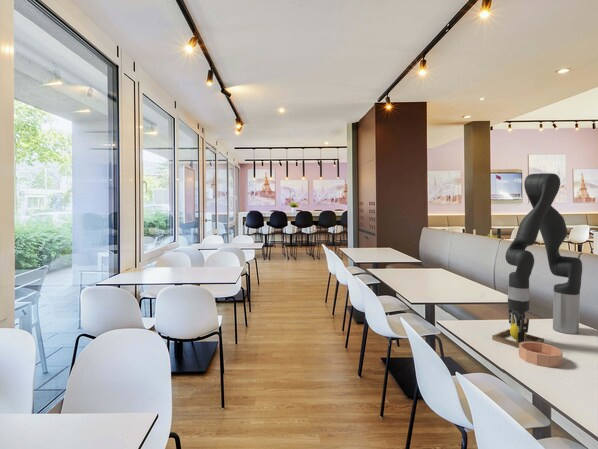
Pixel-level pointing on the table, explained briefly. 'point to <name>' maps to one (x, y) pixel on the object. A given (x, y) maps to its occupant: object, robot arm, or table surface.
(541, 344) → the bowl
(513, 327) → the lemon
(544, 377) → the table surface
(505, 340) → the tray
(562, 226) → the robot arm
